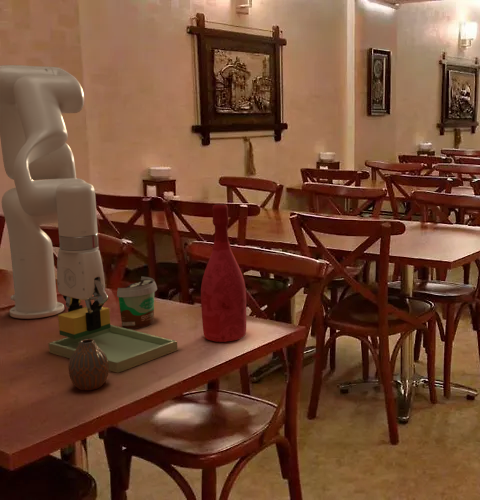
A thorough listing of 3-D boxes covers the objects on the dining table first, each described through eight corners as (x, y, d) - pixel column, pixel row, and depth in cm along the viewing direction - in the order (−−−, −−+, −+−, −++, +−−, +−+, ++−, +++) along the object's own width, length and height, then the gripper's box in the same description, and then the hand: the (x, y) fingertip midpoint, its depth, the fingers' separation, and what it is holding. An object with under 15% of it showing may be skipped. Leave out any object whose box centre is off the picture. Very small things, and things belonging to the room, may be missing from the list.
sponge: (59, 334, 147) (57, 314, 146) (95, 323, 154) (94, 304, 153) (74, 339, 144) (73, 318, 143) (110, 327, 151) (109, 308, 151)
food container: (143, 332, 161) (141, 289, 159) (119, 330, 162) (116, 288, 160) (167, 316, 173) (165, 277, 171) (144, 315, 174) (142, 276, 172)
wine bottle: (193, 337, 157) (187, 203, 152) (229, 327, 164) (224, 199, 159) (220, 347, 151) (215, 208, 145) (256, 336, 158) (252, 203, 152)
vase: (76, 379, 132) (72, 335, 131) (114, 378, 133) (111, 334, 131) (65, 394, 126) (61, 347, 124) (104, 393, 126) (101, 346, 125)
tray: (49, 352, 147) (48, 343, 147) (110, 333, 160) (109, 324, 160) (117, 373, 136) (117, 362, 135) (177, 350, 149) (177, 340, 148)
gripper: (37, 241, 147) (44, 324, 150) (90, 250, 138) (96, 339, 141) (69, 235, 153) (75, 316, 156) (121, 244, 144) (126, 329, 147)
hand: (85, 326), depth 149 cm, fingers closed on sponge, 5 cm apart
